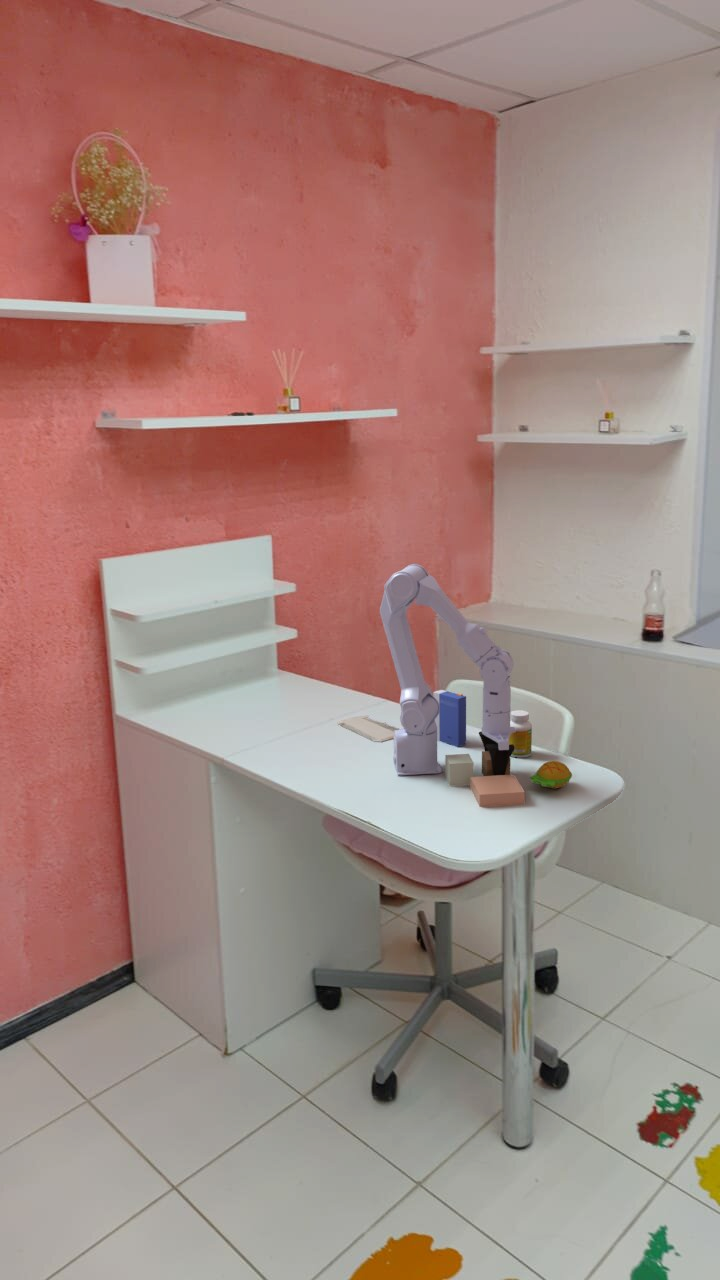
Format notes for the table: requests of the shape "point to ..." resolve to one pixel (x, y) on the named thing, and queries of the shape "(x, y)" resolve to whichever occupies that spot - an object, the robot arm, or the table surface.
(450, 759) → the sage cube
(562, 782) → the orange green rounded dome
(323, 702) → the table surface
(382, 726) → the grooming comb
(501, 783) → the tile block
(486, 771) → the walnut cube
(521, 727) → the supplement bottle
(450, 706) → the walkman
